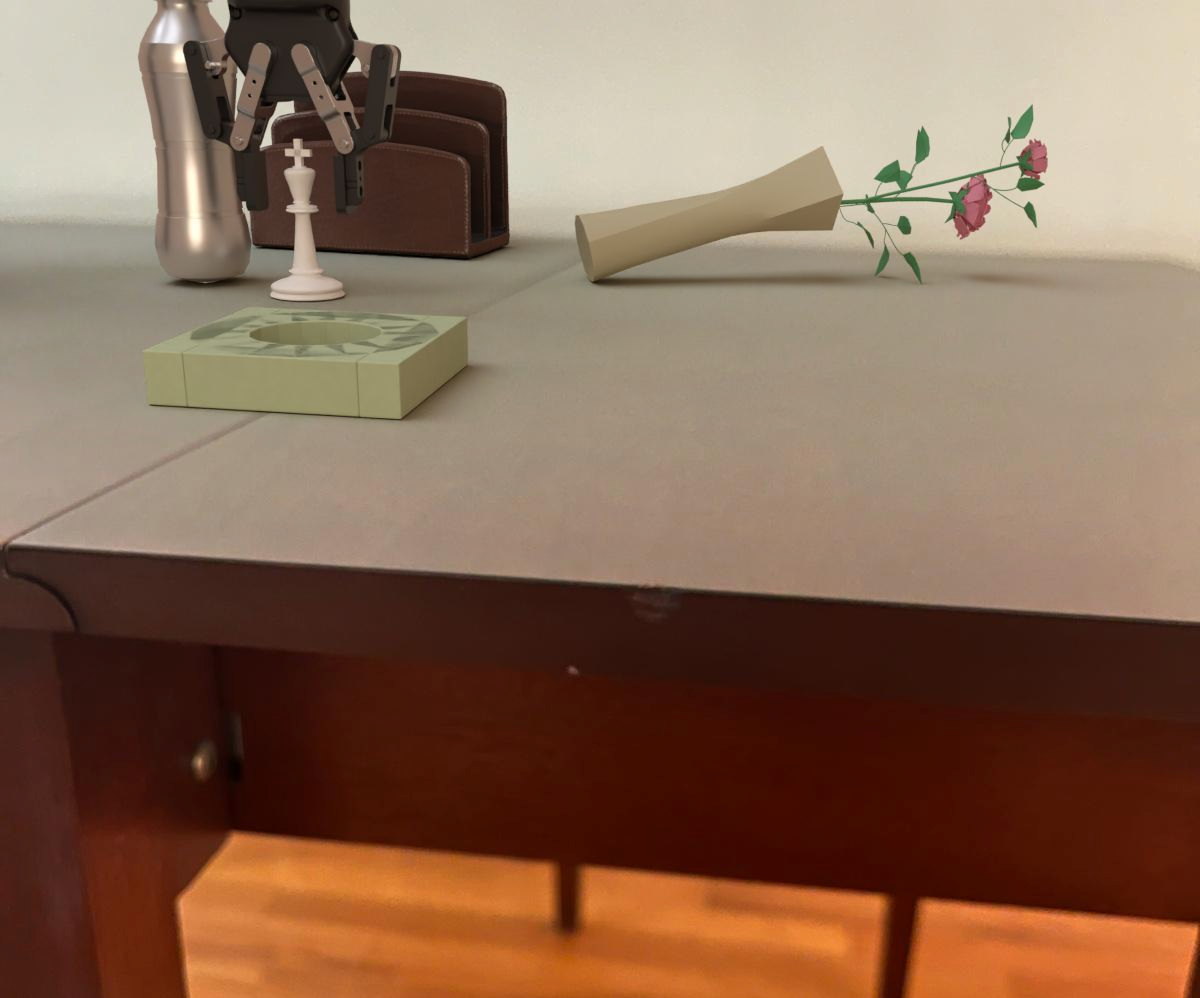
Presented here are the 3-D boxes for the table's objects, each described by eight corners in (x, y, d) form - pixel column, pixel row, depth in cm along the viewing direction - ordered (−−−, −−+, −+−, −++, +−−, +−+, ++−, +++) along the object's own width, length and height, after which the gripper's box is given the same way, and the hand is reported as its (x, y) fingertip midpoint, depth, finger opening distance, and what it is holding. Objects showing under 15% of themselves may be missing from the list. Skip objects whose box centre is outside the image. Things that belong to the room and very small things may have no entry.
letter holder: (306, 235, 120) (295, 68, 115) (511, 246, 116) (510, 72, 110) (250, 247, 112) (236, 67, 106) (470, 260, 107) (466, 72, 101)
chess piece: (329, 302, 87) (319, 141, 83) (258, 299, 87) (245, 139, 84) (355, 291, 91) (347, 138, 87) (287, 288, 92) (276, 136, 88)
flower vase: (601, 371, 103) (1012, 265, 108) (627, 355, 91) (1089, 236, 95) (563, 221, 102) (981, 120, 106) (584, 185, 90) (1054, 72, 94)
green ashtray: (147, 404, 60) (141, 350, 59) (252, 353, 71) (248, 306, 70) (401, 419, 59) (399, 363, 58) (468, 364, 70) (467, 316, 69)
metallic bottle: (138, 283, 93) (103, -32, 85) (204, 271, 98) (177, -25, 91) (210, 291, 90) (181, -33, 83) (274, 278, 96) (252, -26, 88)
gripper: (145, -81, 79) (174, 214, 85) (378, -80, 77) (390, 222, 83) (200, -69, 85) (223, 203, 92) (415, -68, 83) (423, 210, 90)
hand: (302, 210), depth 87 cm, fingers open, 5 cm apart
